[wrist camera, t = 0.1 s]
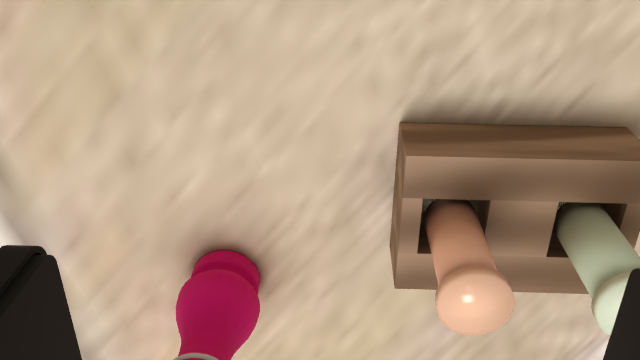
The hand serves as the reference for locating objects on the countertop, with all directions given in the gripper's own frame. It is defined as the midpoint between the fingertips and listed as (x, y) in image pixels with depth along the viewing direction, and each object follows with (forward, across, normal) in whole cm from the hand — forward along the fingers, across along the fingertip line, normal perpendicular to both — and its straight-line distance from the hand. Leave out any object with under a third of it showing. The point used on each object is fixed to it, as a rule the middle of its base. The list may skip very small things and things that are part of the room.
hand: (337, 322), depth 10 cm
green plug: (+32, -19, +18) cm, 41 cm away
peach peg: (+32, -9, +18) cm, 38 cm away
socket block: (+37, -14, +18) cm, 43 cm away
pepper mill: (+37, +10, +28) cm, 47 cm away
